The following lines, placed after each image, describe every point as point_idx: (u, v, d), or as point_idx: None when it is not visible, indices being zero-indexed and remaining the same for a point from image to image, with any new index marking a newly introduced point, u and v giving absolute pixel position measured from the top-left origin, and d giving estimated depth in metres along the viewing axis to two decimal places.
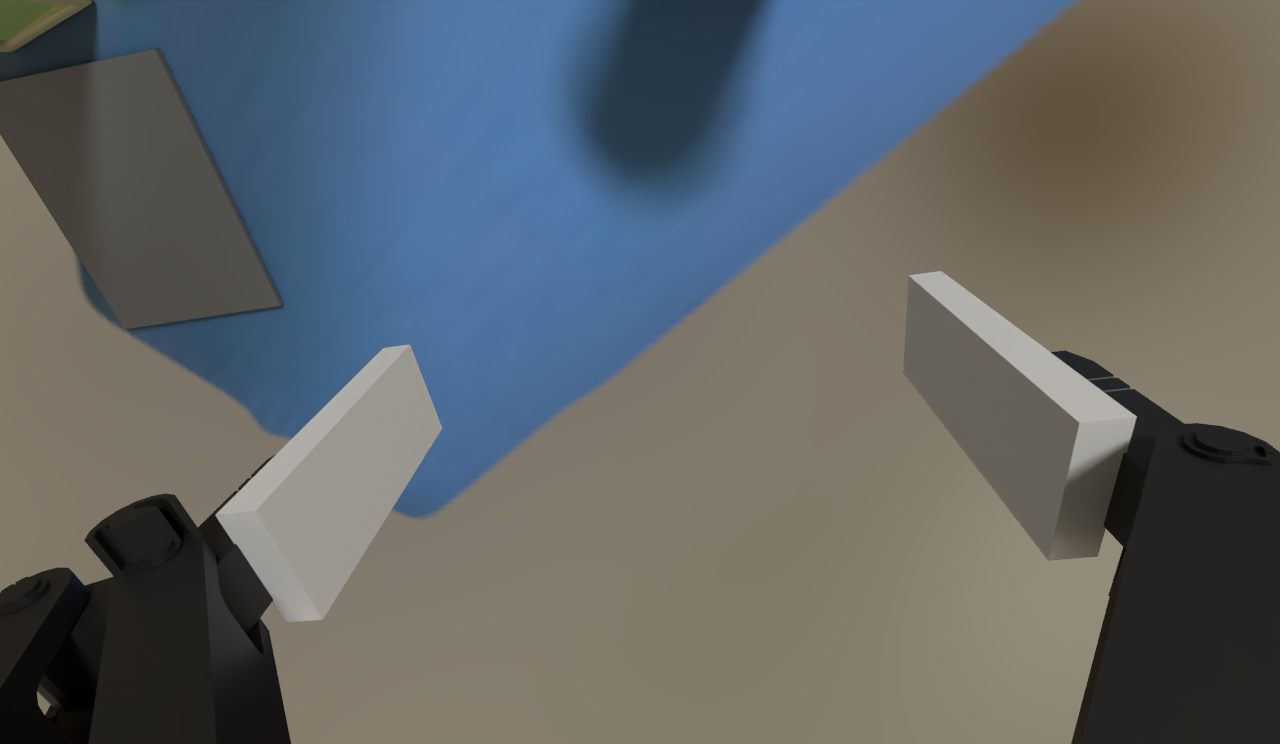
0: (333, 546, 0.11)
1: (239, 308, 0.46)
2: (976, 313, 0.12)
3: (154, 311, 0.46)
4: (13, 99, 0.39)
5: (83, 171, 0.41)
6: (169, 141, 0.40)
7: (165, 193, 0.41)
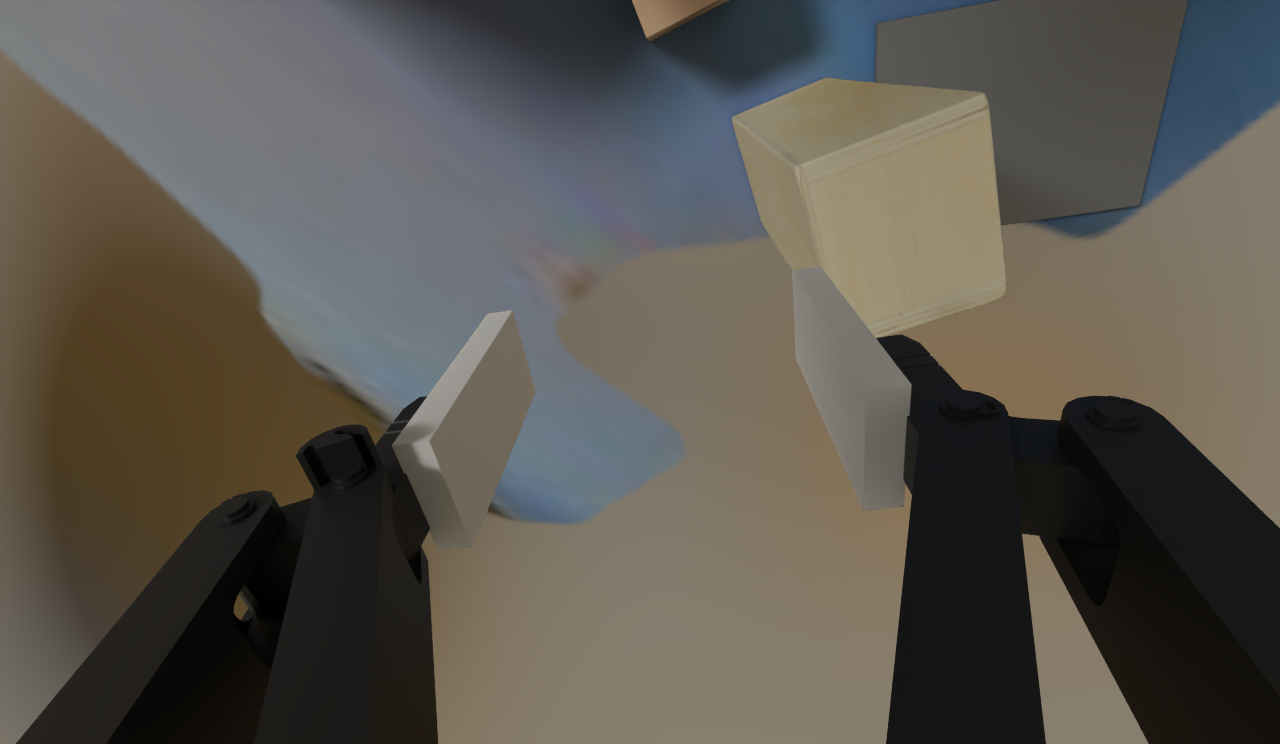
0: (475, 483, 0.12)
1: (1175, 31, 0.35)
2: (831, 302, 0.13)
3: (1134, 155, 0.38)
4: None
5: None
6: (965, 46, 0.36)
7: (1014, 77, 0.36)
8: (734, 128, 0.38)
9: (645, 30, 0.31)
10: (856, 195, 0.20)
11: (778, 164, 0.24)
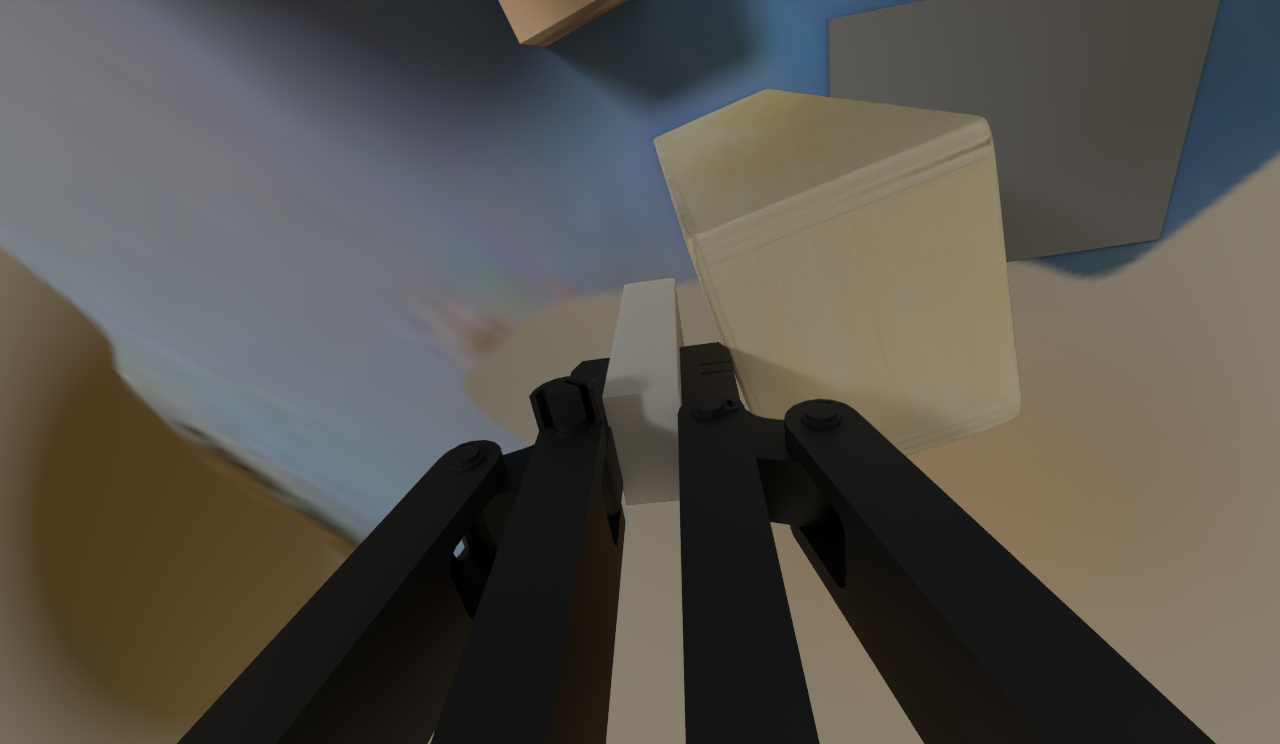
0: None
1: (1207, 25, 0.27)
2: (661, 312, 0.14)
3: (1153, 179, 0.31)
4: None
5: None
6: (940, 47, 0.28)
7: (1002, 85, 0.29)
8: None
9: (517, 34, 0.24)
10: (786, 281, 0.13)
11: None
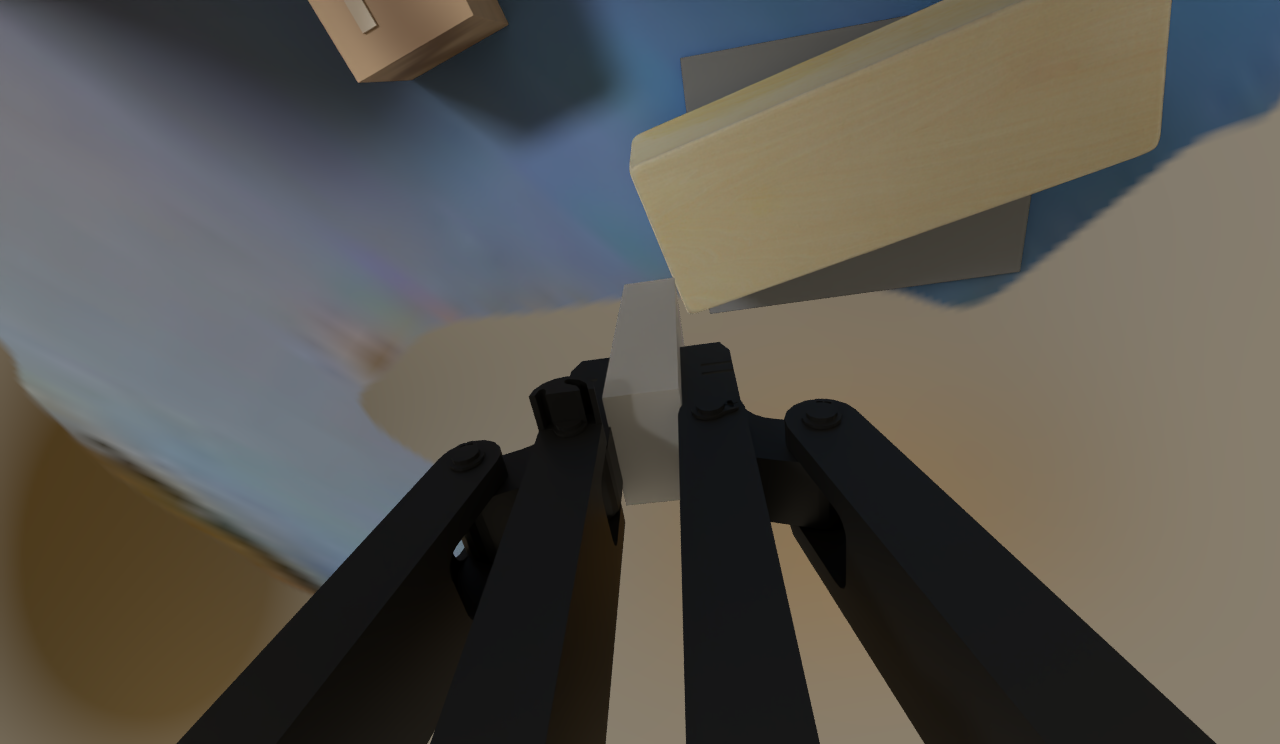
0: None
1: None
2: (661, 312, 0.14)
3: (1008, 214, 0.32)
4: None
5: None
6: None
7: None
8: (645, 180, 0.25)
9: (354, 73, 0.25)
10: None
11: (1059, 1, 0.21)
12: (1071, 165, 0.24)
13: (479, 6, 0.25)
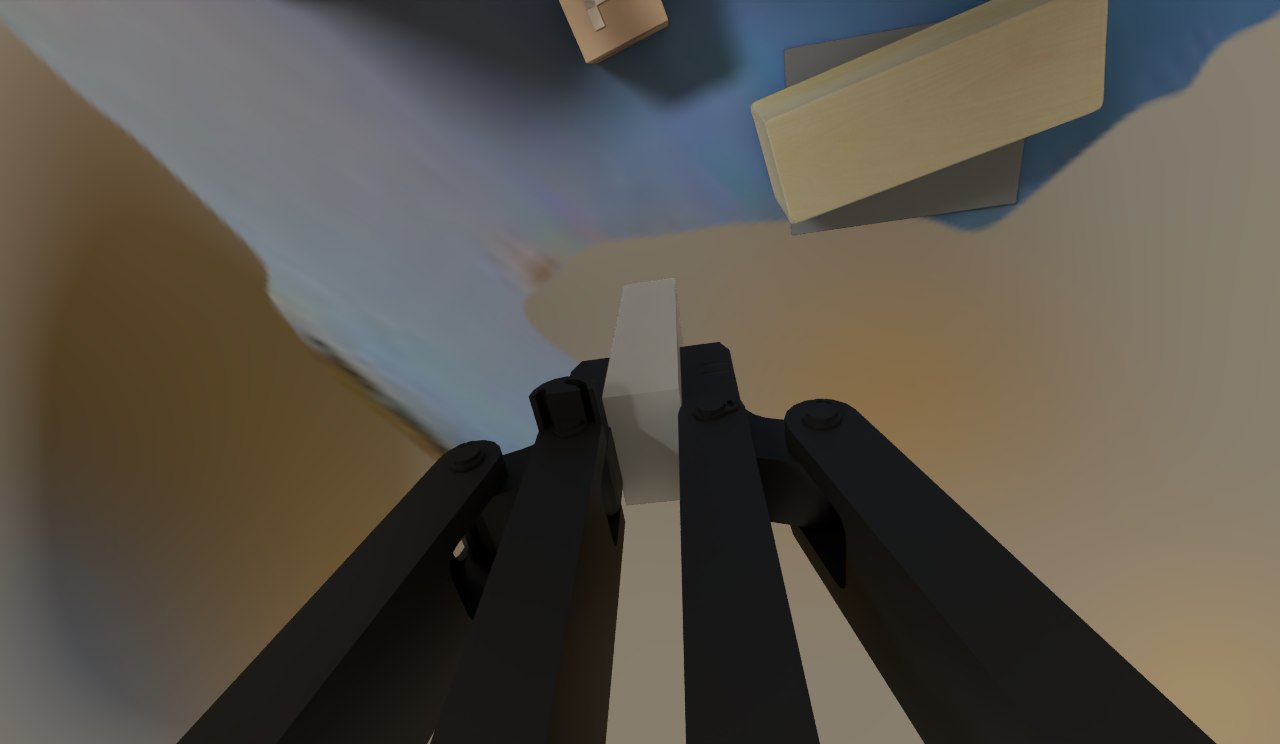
0: None
1: None
2: (661, 312, 0.14)
3: (1007, 160, 0.45)
4: None
5: None
6: None
7: None
8: (774, 128, 0.38)
9: (585, 57, 0.38)
10: None
11: (1040, 15, 0.35)
12: (1048, 119, 0.38)
13: None
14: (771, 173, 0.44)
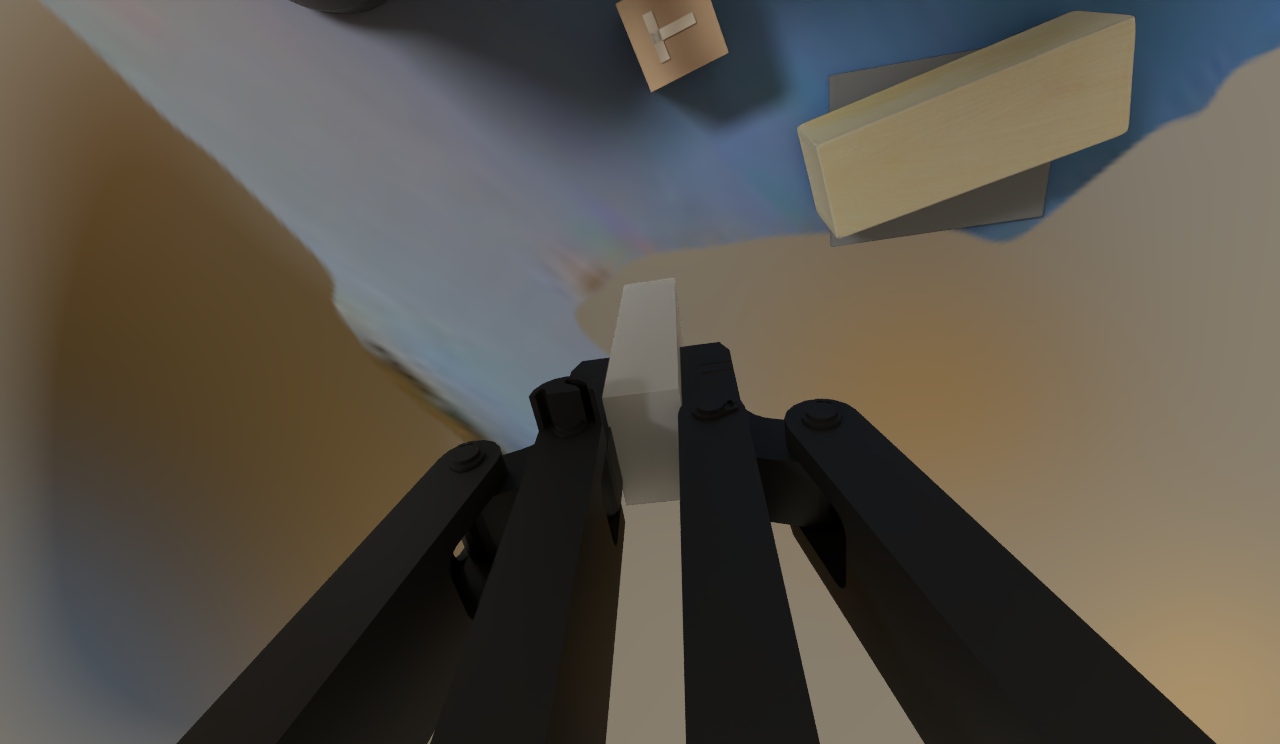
0: None
1: None
2: (661, 312, 0.14)
3: (1035, 177, 0.48)
4: None
5: None
6: None
7: None
8: (825, 152, 0.41)
9: (650, 86, 0.42)
10: None
11: (1072, 49, 0.38)
12: (1077, 142, 0.41)
13: None
14: (816, 190, 0.47)
